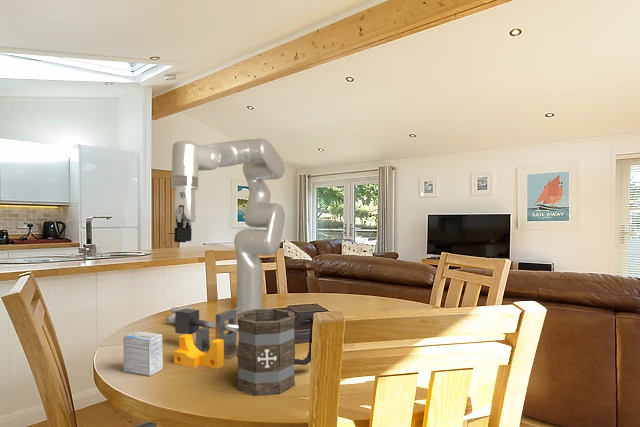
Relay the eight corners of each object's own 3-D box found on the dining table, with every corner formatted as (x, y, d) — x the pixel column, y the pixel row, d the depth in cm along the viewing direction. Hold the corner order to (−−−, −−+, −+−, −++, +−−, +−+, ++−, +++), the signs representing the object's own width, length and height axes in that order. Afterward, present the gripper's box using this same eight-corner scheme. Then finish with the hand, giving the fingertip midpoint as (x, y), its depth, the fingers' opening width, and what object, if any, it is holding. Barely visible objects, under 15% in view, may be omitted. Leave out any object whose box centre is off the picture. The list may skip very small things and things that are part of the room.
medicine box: (163, 370, 97) (163, 333, 97) (149, 377, 93) (149, 339, 93) (137, 365, 100) (137, 330, 100) (122, 372, 96) (122, 335, 96)
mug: (249, 402, 81) (249, 326, 81) (226, 378, 92) (226, 312, 92) (331, 381, 91) (331, 314, 91) (301, 362, 103) (301, 303, 103)
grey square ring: (191, 352, 110) (191, 311, 110) (208, 344, 116) (208, 306, 116) (230, 359, 104) (230, 316, 104) (246, 351, 111) (246, 310, 111)
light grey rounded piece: (167, 317, 131) (167, 302, 145) (167, 332, 132) (167, 316, 146) (198, 314, 135) (195, 300, 149) (198, 329, 135) (195, 314, 149)
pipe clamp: (173, 364, 102) (173, 338, 102) (186, 358, 105) (186, 333, 105) (212, 372, 97) (212, 345, 97) (223, 365, 101) (223, 339, 101)
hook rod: (175, 332, 114) (175, 311, 114) (185, 329, 118) (185, 308, 118) (242, 343, 105) (242, 320, 105) (251, 339, 108) (251, 316, 108)
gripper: (194, 181, 112) (192, 243, 112) (201, 187, 129) (199, 240, 129) (165, 179, 111) (163, 242, 110) (176, 186, 128) (175, 240, 127)
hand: (183, 241), depth 119 cm, fingers open, 9 cm apart
